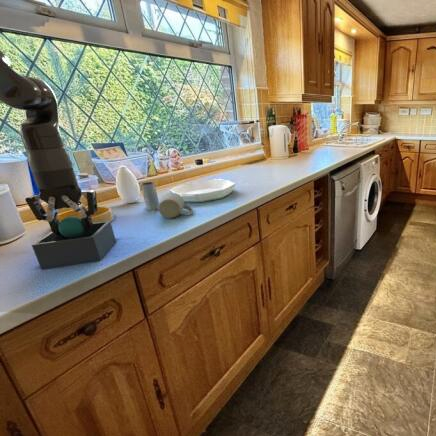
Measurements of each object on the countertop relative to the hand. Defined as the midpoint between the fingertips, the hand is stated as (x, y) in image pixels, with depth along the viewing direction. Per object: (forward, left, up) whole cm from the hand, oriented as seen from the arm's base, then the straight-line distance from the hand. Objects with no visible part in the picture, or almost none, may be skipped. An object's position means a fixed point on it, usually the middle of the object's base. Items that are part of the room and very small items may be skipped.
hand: (74, 231), depth 78 cm
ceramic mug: (+20, +26, -7) cm, 33 cm away
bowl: (-9, +28, -7) cm, 30 cm away
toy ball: (0, 0, -1) cm, 1 cm away
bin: (0, 0, -7) cm, 7 cm away
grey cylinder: (+10, +38, -7) cm, 40 cm away
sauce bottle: (-1, +53, -7) cm, 53 cm away
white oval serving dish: (+28, +51, -7) cm, 59 cm away
